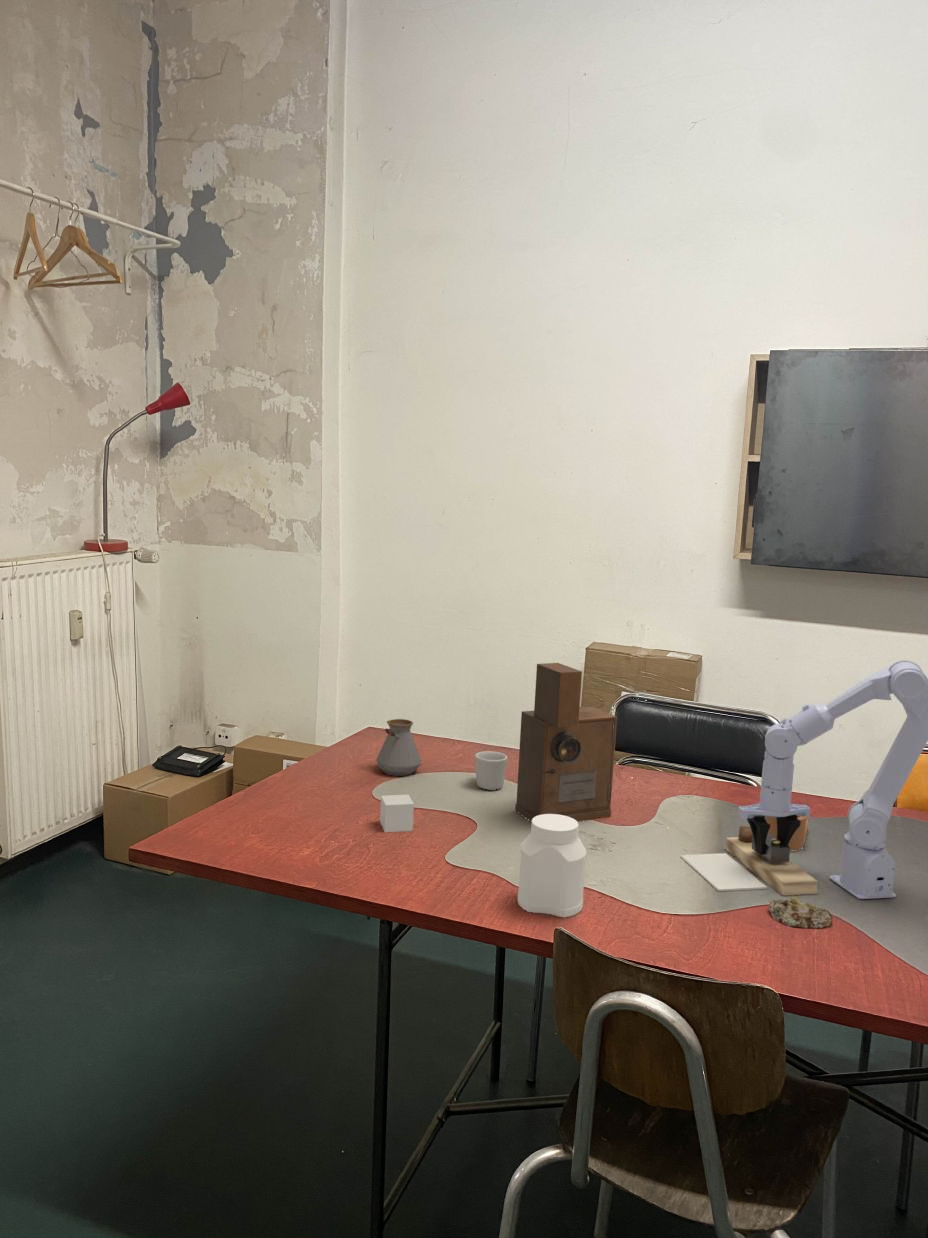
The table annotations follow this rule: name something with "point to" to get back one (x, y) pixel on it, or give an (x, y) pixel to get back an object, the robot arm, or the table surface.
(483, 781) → the cup
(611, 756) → the vintage camera
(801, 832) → the bracket
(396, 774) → the coffee pot
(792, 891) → the body
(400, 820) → the white cube
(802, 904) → the mineral rock
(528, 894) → the jar
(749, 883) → the mat
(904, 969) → the table surface
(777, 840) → the lever cap
